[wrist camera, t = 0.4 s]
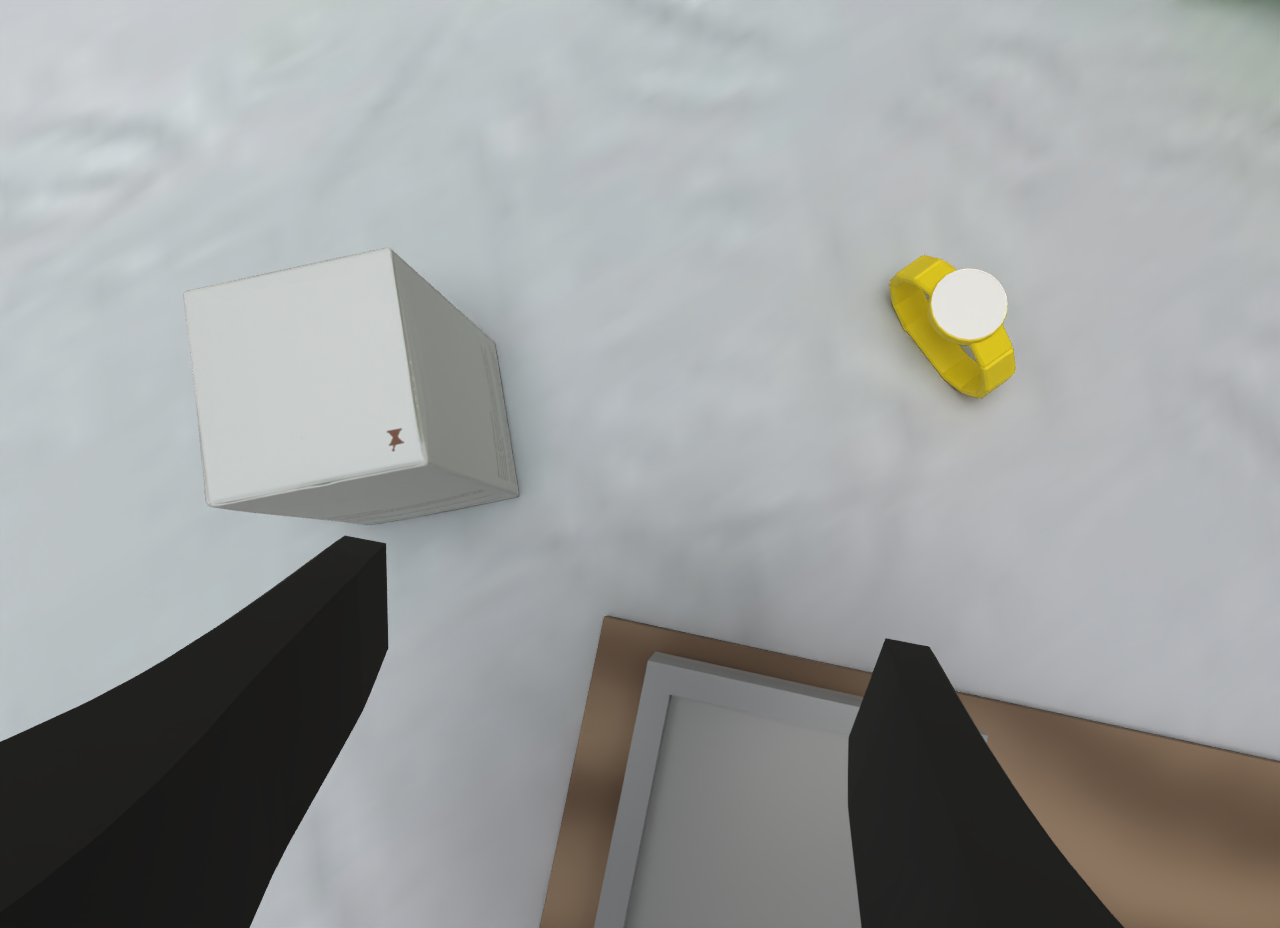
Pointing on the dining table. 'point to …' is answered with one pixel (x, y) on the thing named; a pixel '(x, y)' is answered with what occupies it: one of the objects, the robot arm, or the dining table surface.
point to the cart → (733, 805)
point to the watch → (956, 322)
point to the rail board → (1035, 764)
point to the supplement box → (345, 395)
